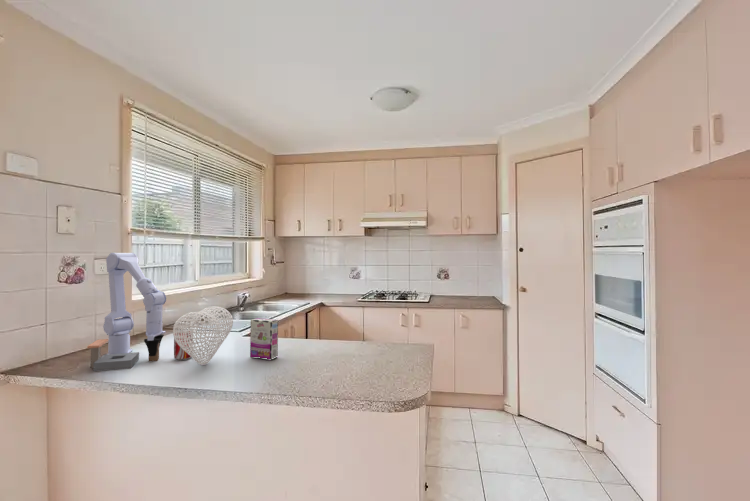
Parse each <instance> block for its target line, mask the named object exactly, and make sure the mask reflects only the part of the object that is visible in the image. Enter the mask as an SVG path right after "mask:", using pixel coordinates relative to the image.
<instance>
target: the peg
mask: <svg viewBox="0 0 750 501" xmlns="http://www.w3.org/2000/svg"><path fill="white" fill-rule="evenodd" d="M159 360H160V347H159V343H158V347H157V352H156V356H149V355H148V363H149V362H158V361H159Z"/></svg>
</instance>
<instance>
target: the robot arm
mask: <svg viewBox="0 0 750 501" xmlns="http://www.w3.org/2000/svg"><path fill="white" fill-rule="evenodd" d="M105 263H106V273H108V274H107V275H108V283H109V284H108V287H109V300H110V312H109V313H108V314H107V315H106V316H105V317H104V321H103V322H104V323H103V326H102V327H103V328H102V329H103V331H104V333H105V334H106V335H107V336H108V342H107V343H108V344H107V345H108V347H107V348H108V349H107V350H108V353H107V354H119V353H132V351H133V349H132V348H131V335H130V333H132V332H131V331H132V330H133V329H134V326H135V322H134V319H133V317H132V315H133V314H132V313H130V312H129V311H128V310H127V309H126V295H125V294H126V293H125V279H124V275H125V273H129V275H131V276H132V278H133V279H134V280H135V281H136V286H135V287H136V288H137V289H138V291H139V292H140V294H141V295H142V297H143V299H142V301H143V302H142V303H143V306H144V310H145V311H146V314H145V315H146V316H145V317H146V321H145V322H146V323H145V324H146V326H145V328H146V329H145V336H146V337H147V338H144V340H143V342H144V344H145V345H146V348H147V352H148V357H149V356H156V352H157V347H158V343H159V348H160V346H161V342H162V339H163V338H164V334H166V332H167V331H166V330H163V317H164V316H163V314H164V313H163V310H164V304H166V303H167V295H166V294H165V292H164V291H161V290H160V289H158V288H157V287H156V285H155V284H154V283H153V282H154V281H152V278H148V277H146V276H145V274H144V272H143V271H142V270H143V269H142V268H141V267H140V265H139V257H138V255H137V254H136V253H135V252H110V253H109V254H108V256H107V257H106V259H105Z"/></svg>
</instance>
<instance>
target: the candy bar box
mask: <svg viewBox="0 0 750 501" xmlns="http://www.w3.org/2000/svg"><path fill="white" fill-rule="evenodd" d="M278 334H279V320H278V319H271V318H258V317H257V318H254V319H253V318H252V319H250V335H249V336H250V338H249V339H250V341H249V342H250V343H249V344H250V346H249V347H250V350H249V351H250V352H249V356H250V357H260V358H267V359H272V358H274V357H276V356H278V353H279V352H278V349H279V348H278V347H279V345H278V344H279V335H278Z"/></svg>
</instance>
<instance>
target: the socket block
mask: <svg viewBox="0 0 750 501" xmlns="http://www.w3.org/2000/svg"><path fill="white" fill-rule="evenodd" d="M108 342H109V338H105V339H104V338H102V339H96V340H95V341H93V342H92V343H90V344H88V345H87V347H86V348H87V349H90V368H91V369H93V370H92V371H93V372H97V371H98V372H99V371H110V370H111V371H112V370H124V369H132V367H133V366H134V365H135V364H137V362H138V361H139V360H140V352H139V351H137V352H130V353H119V354H108V353H107V354H103V355H101V347H102V346H103V345H105V344H106V343H108Z"/></svg>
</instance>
